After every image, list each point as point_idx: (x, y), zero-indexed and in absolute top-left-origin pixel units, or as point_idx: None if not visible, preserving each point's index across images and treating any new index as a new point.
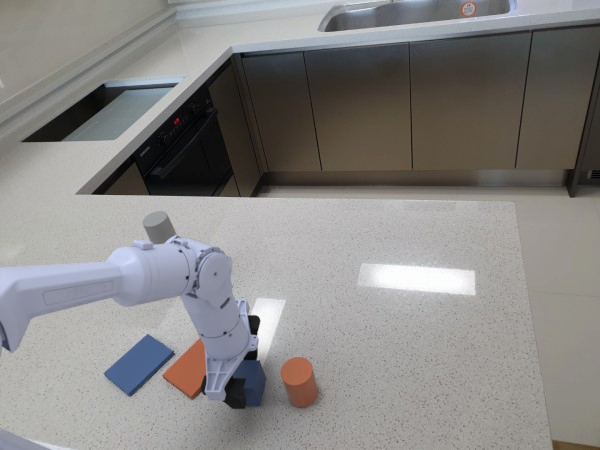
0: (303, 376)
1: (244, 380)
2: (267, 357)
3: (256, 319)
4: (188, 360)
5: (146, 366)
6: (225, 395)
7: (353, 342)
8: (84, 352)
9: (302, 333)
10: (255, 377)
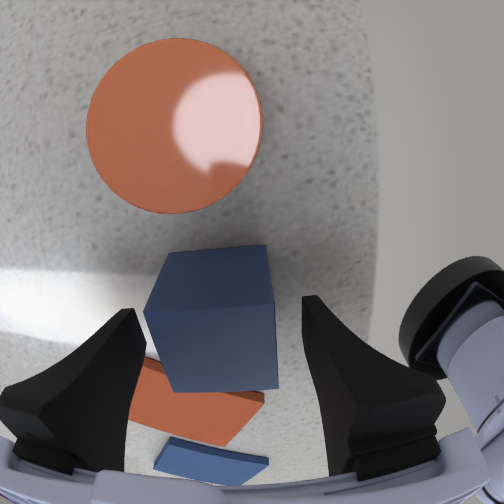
0: (200, 75)
1: (383, 409)
2: (104, 269)
3: (8, 417)
4: (179, 424)
5: (213, 462)
6: (454, 436)
7: (19, 34)
8: None
9: (13, 192)
10: (222, 308)
